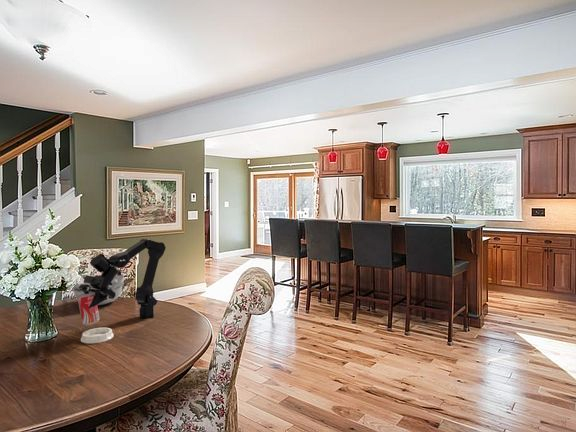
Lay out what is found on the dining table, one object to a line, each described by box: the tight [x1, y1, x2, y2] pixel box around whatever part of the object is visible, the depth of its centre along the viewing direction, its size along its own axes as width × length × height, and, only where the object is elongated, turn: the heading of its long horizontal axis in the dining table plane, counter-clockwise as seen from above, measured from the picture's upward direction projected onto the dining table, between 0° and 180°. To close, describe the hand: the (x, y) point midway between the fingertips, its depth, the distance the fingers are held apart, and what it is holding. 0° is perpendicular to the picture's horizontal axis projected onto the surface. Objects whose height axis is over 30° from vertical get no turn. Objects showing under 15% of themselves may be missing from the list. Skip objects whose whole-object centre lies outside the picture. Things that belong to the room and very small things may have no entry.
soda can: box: [77, 292, 100, 326], centre depth 179 cm, size 7×7×13 cm
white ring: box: [80, 327, 114, 345], centre depth 176 cm, size 13×13×3 cm
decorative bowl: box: [71, 273, 125, 306], centre depth 234 cm, size 30×30×15 cm
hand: (85, 307), depth 177 cm, fingers closed on soda can, 4 cm apart
